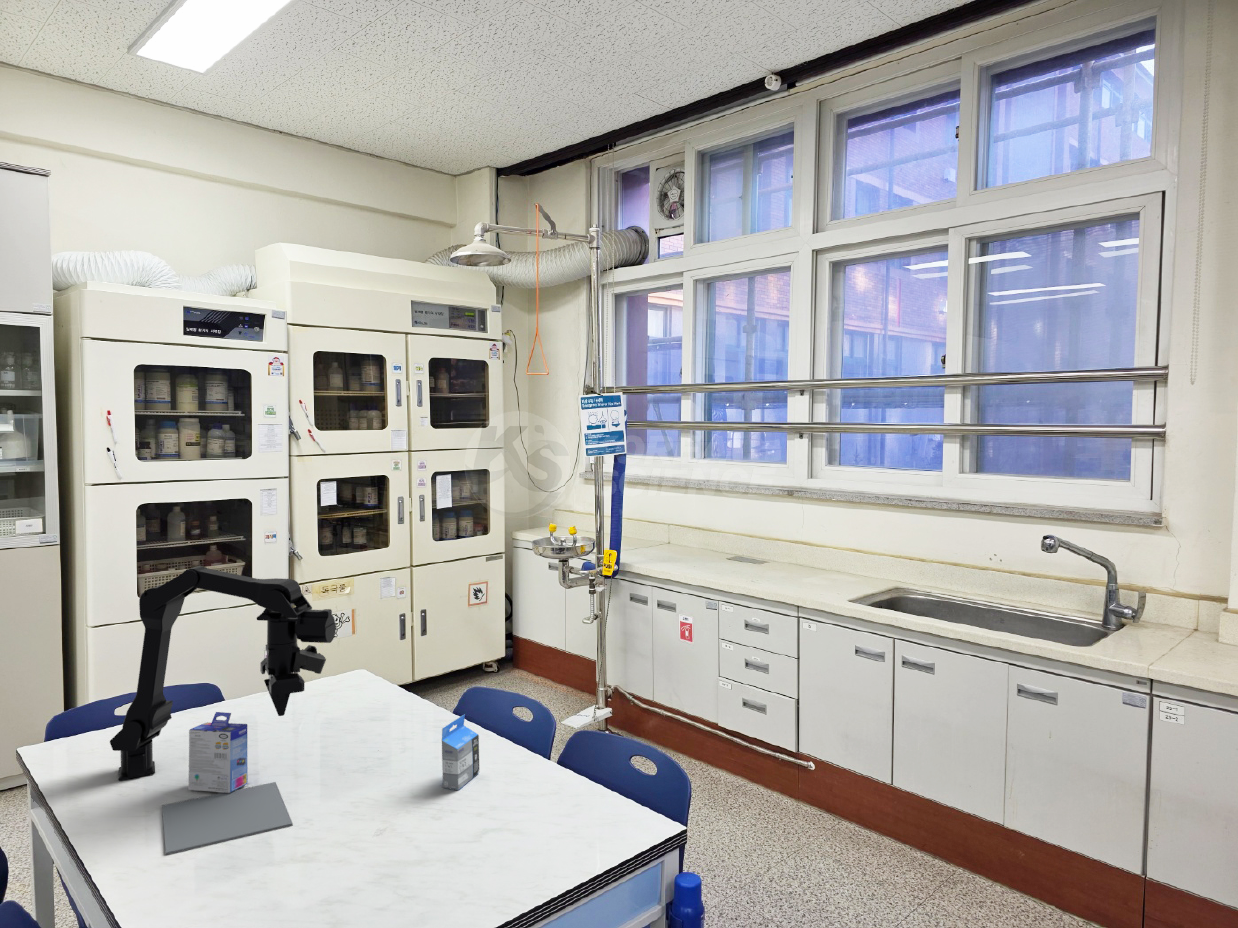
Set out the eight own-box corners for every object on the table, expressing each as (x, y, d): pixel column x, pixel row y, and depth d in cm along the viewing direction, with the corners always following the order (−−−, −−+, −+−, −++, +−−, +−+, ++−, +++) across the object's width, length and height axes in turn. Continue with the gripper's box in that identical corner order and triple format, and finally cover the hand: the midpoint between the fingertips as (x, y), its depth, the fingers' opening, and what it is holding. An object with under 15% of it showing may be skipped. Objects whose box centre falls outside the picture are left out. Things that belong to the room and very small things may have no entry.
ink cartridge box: (250, 783, 160) (249, 711, 160) (231, 794, 154) (230, 720, 155) (207, 780, 162) (206, 709, 162) (187, 790, 156) (186, 717, 157)
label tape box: (458, 790, 158) (458, 730, 158) (440, 787, 159) (441, 727, 159) (480, 773, 166) (480, 715, 166) (463, 770, 168) (463, 713, 167)
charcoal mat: (162, 806, 150) (162, 804, 150) (275, 783, 160) (275, 781, 160) (165, 854, 133) (165, 852, 133) (292, 825, 143) (292, 823, 143)
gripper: (331, 647, 160) (330, 723, 160) (315, 627, 176) (314, 696, 177) (271, 654, 154) (270, 732, 155) (260, 632, 170) (259, 703, 171)
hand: (281, 715), depth 164 cm, fingers closed
